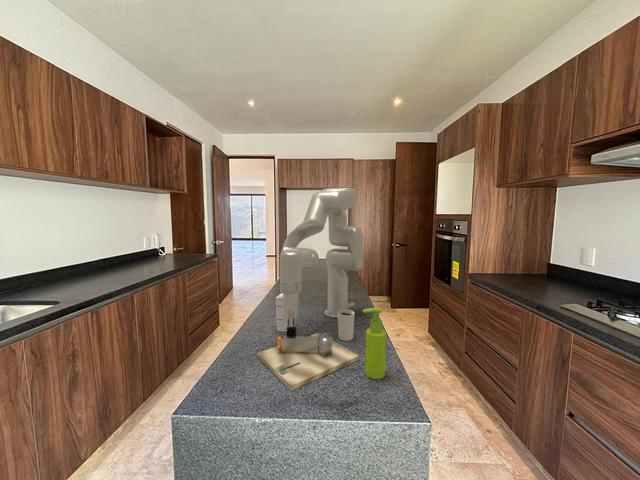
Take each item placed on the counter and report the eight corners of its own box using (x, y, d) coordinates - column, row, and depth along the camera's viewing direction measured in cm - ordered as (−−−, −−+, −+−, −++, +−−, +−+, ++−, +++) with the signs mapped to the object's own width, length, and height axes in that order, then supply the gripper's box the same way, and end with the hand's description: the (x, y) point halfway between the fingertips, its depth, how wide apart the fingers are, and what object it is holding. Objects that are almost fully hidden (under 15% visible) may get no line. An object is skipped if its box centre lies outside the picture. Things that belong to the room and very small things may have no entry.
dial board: (318, 336, 107) (318, 332, 107) (358, 360, 89) (359, 355, 89) (257, 357, 91) (256, 352, 91) (291, 391, 74) (291, 385, 74)
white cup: (335, 339, 104) (335, 314, 103) (339, 332, 110) (340, 308, 109) (352, 342, 102) (352, 316, 101) (356, 334, 108) (356, 310, 107)
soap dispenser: (359, 368, 85) (360, 306, 83) (381, 367, 85) (383, 305, 83) (364, 379, 79) (365, 313, 77) (387, 378, 79) (389, 312, 77)
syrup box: (289, 332, 110) (289, 297, 109) (276, 331, 111) (275, 296, 110) (294, 326, 116) (293, 293, 115) (280, 325, 117) (280, 292, 116)
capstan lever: (332, 346, 95) (332, 332, 94) (332, 358, 87) (332, 343, 86) (279, 345, 95) (279, 331, 95) (275, 357, 87) (274, 342, 87)
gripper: (281, 281, 101) (281, 329, 102) (278, 293, 86) (279, 348, 87) (301, 281, 101) (301, 328, 103) (302, 292, 86) (302, 347, 88)
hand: (291, 337), depth 95 cm, fingers closed
